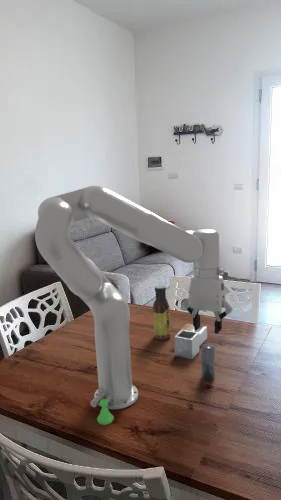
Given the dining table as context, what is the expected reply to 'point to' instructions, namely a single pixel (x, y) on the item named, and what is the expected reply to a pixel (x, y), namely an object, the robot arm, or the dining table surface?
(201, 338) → the leaf loose
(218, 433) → the dining table surface
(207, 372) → the pin
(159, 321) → the sauce bottle
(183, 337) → the hinge base
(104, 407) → the game piece
